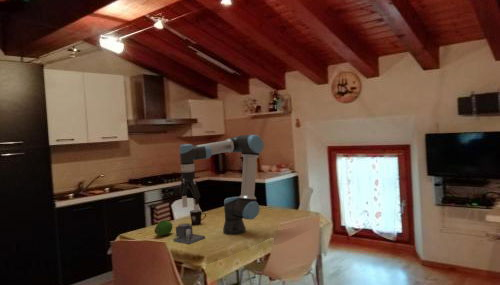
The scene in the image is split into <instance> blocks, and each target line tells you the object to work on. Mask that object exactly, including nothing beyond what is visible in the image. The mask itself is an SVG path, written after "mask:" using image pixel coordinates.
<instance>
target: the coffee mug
mask: <svg viewBox="0 0 500 285" xmlns="http://www.w3.org/2000/svg"><path fill="white" fill-rule="evenodd" d="M189 214H190V222H191V226H200V225H201V224H202V223H201V222H202V221H203V220H204V219H205V218H206V216H207V215H206V212H202V209H199V210H196V211H194V209H192V210H189ZM202 214H204V217H203V218H202Z"/></svg>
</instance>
